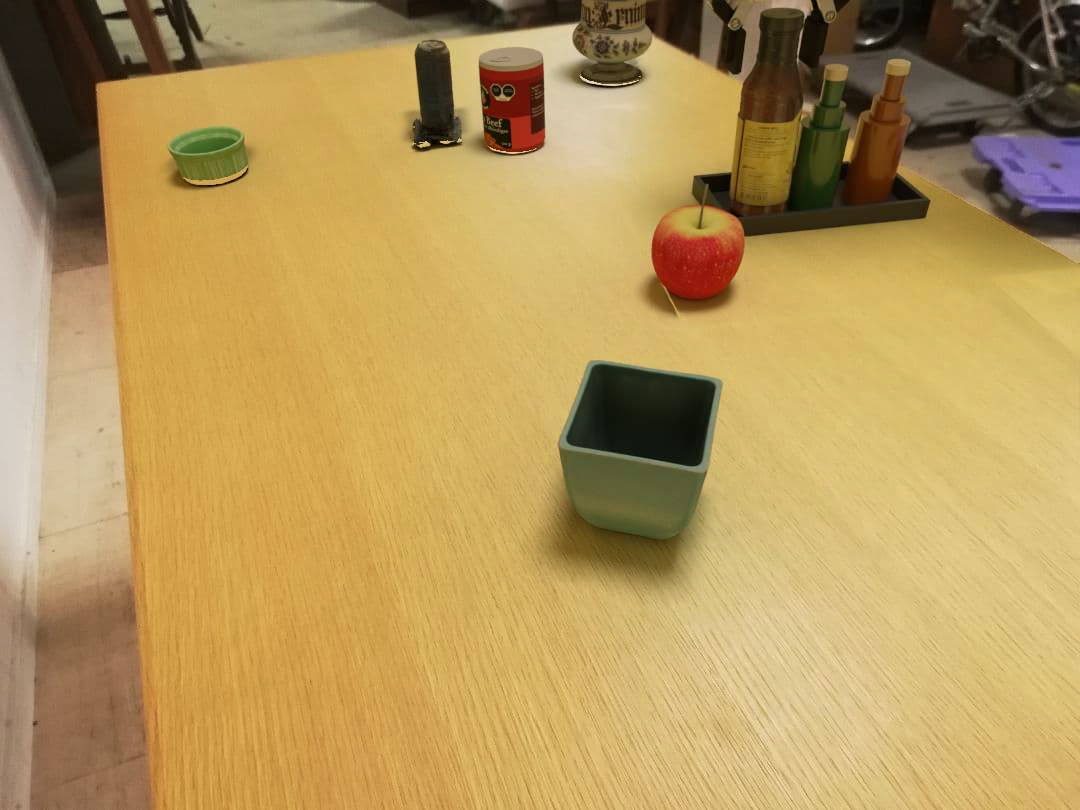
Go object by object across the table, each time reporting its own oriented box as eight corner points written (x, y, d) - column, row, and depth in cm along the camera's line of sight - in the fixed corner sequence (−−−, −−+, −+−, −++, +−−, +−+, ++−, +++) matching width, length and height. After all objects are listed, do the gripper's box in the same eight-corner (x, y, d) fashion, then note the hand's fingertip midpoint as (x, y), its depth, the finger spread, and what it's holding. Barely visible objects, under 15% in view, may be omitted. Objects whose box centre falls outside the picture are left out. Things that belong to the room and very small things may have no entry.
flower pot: (692, 572, 49) (708, 472, 44) (557, 545, 51) (555, 445, 46) (708, 475, 56) (724, 376, 50) (587, 454, 58) (589, 357, 52)
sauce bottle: (797, 216, 84) (837, 16, 71) (747, 228, 83) (779, 25, 70) (762, 192, 89) (793, 0, 76) (714, 202, 87) (738, 8, 74)
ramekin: (241, 153, 103) (232, 120, 100) (262, 176, 97) (253, 142, 94) (171, 170, 99) (159, 136, 97) (188, 196, 94) (176, 160, 91)
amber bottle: (875, 186, 89) (910, 52, 80) (896, 206, 85) (936, 67, 76) (833, 190, 89) (863, 56, 79) (853, 210, 85) (887, 71, 75)
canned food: (476, 139, 104) (469, 52, 97) (531, 128, 107) (528, 43, 99) (497, 160, 99) (491, 69, 92) (555, 148, 101) (553, 59, 94)
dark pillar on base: (472, 144, 103) (463, 48, 95) (414, 152, 101) (400, 55, 94) (458, 120, 110) (449, 28, 102) (403, 128, 108) (390, 35, 100)
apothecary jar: (644, 92, 116) (652, -46, 105) (565, 88, 119) (564, -47, 107) (654, 66, 125) (662, -63, 113) (580, 63, 127) (581, -64, 116)
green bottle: (820, 192, 88) (849, 57, 79) (840, 212, 85) (873, 73, 75) (778, 196, 88) (802, 61, 79) (796, 216, 84) (823, 77, 75)
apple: (743, 274, 76) (759, 177, 70) (728, 322, 70) (744, 220, 64) (660, 262, 78) (668, 166, 72) (639, 306, 72) (645, 207, 66)
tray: (874, 177, 92) (879, 157, 90) (924, 221, 83) (931, 200, 82) (691, 195, 90) (693, 175, 88) (723, 242, 81) (726, 220, 80)
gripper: (717, -148, 61) (694, 87, 72) (927, -159, 62) (872, 72, 74) (688, -157, 66) (672, 62, 78) (882, -167, 68) (838, 49, 80)
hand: (770, 65), depth 76 cm, fingers open, 7 cm apart
